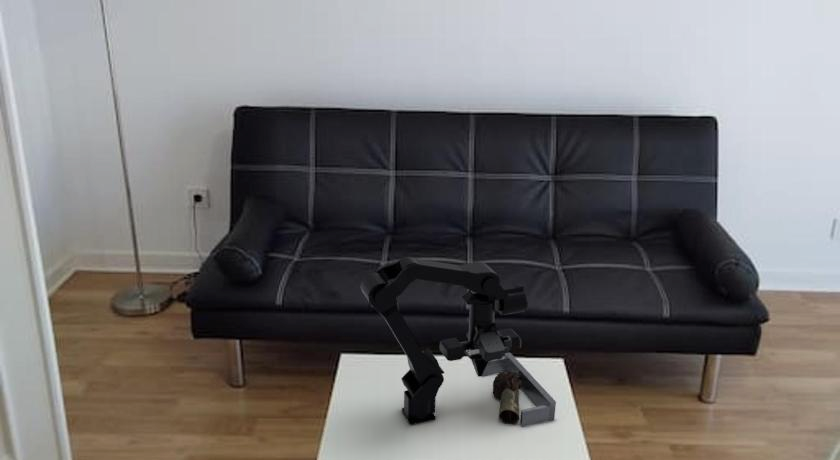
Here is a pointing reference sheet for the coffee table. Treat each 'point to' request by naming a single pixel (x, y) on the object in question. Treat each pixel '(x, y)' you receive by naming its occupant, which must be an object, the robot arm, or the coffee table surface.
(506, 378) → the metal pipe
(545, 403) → the grey u-shaped bracket
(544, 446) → the coffee table surface
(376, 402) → the coffee table surface
